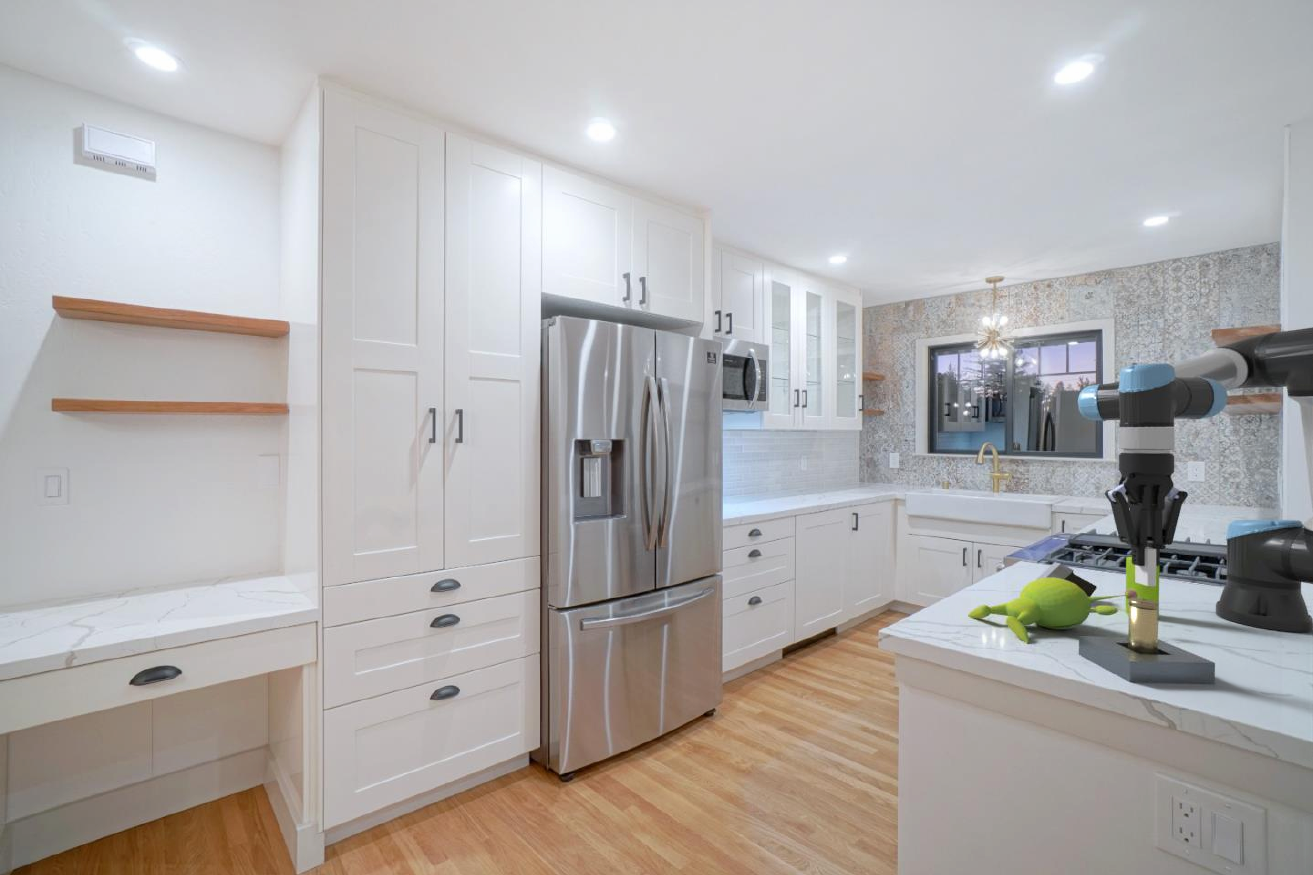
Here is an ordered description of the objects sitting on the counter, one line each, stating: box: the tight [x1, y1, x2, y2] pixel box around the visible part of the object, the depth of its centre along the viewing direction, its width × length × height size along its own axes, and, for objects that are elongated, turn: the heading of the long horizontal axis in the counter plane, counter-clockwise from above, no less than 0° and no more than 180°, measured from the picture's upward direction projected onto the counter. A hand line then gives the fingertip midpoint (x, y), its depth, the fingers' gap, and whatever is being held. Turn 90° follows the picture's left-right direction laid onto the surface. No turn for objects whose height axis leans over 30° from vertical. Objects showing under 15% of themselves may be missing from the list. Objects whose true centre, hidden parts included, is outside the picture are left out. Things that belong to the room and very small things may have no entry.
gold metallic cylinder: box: [1127, 598, 1159, 655], centre depth 103 cm, size 4×4×12 cm
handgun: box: [1035, 561, 1098, 597], centre depth 145 cm, size 4×15×12 cm
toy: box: [967, 577, 1137, 644], centre depth 125 cm, size 20×10×30 cm
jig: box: [1078, 635, 1216, 685], centre depth 102 cm, size 14×12×4 cm
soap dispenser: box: [1125, 556, 1160, 619], centre depth 134 cm, size 6×7×20 cm
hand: (1145, 583), depth 103 cm, fingers closed
